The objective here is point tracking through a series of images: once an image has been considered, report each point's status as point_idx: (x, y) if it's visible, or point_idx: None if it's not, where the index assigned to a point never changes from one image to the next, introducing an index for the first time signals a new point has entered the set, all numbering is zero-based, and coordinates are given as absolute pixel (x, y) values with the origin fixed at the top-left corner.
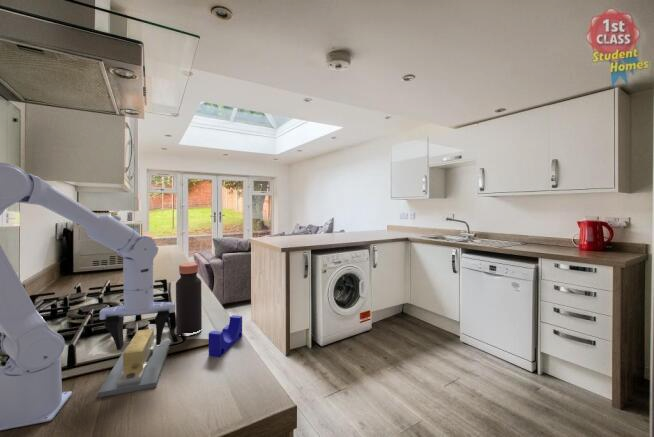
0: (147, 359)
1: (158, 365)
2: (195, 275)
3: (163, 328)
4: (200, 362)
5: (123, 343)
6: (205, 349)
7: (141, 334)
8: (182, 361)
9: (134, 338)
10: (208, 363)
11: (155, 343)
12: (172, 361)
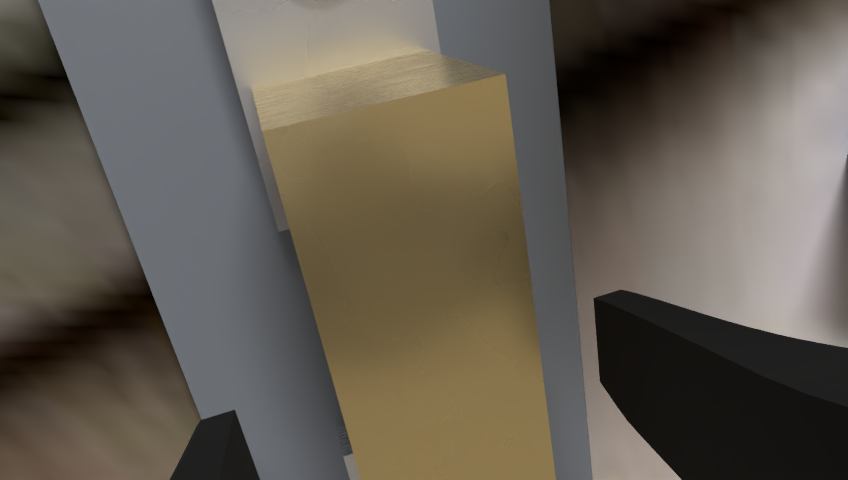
0: None
1: (555, 356)
2: None
3: (747, 333)
4: (793, 247)
5: (232, 418)
6: (832, 34)
7: (403, 284)
8: (679, 227)
9: (364, 401)
10: (838, 262)
11: (434, 20)
12: (608, 223)
